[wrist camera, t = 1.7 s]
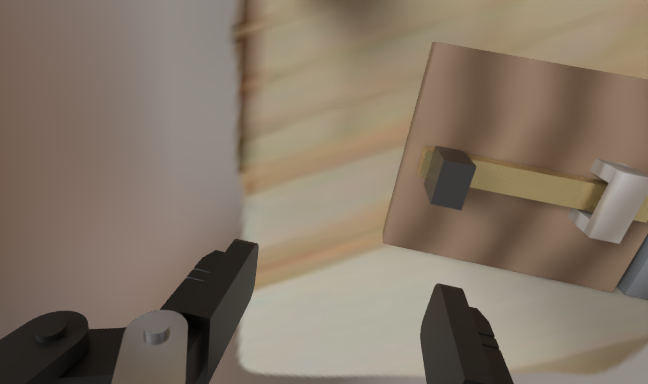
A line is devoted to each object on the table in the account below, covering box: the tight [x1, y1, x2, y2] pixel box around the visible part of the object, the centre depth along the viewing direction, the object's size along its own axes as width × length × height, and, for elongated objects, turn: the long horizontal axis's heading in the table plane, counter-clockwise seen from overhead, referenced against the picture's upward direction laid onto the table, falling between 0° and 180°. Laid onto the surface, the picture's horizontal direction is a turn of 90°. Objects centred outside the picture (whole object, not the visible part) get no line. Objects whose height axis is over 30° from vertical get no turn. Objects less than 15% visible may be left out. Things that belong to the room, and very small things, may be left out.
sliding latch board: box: [383, 42, 648, 300], centre depth 26 cm, size 26×16×5 cm, turn 81°
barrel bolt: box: [417, 145, 648, 223], centre depth 24 cm, size 16×3×5 cm, turn 81°
